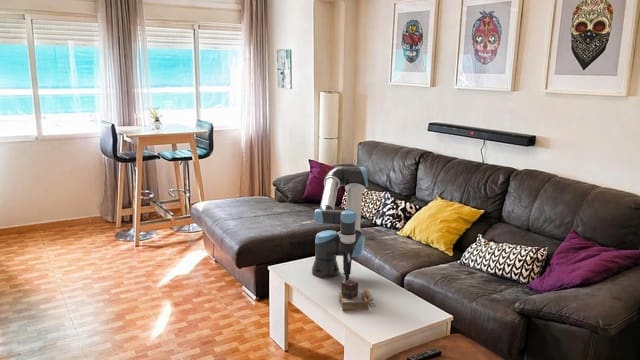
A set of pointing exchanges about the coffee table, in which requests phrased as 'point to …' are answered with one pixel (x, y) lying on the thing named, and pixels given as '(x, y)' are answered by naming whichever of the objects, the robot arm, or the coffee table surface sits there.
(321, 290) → the coffee table surface
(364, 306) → the box
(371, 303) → the scraper
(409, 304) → the coffee table surface
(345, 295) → the box
